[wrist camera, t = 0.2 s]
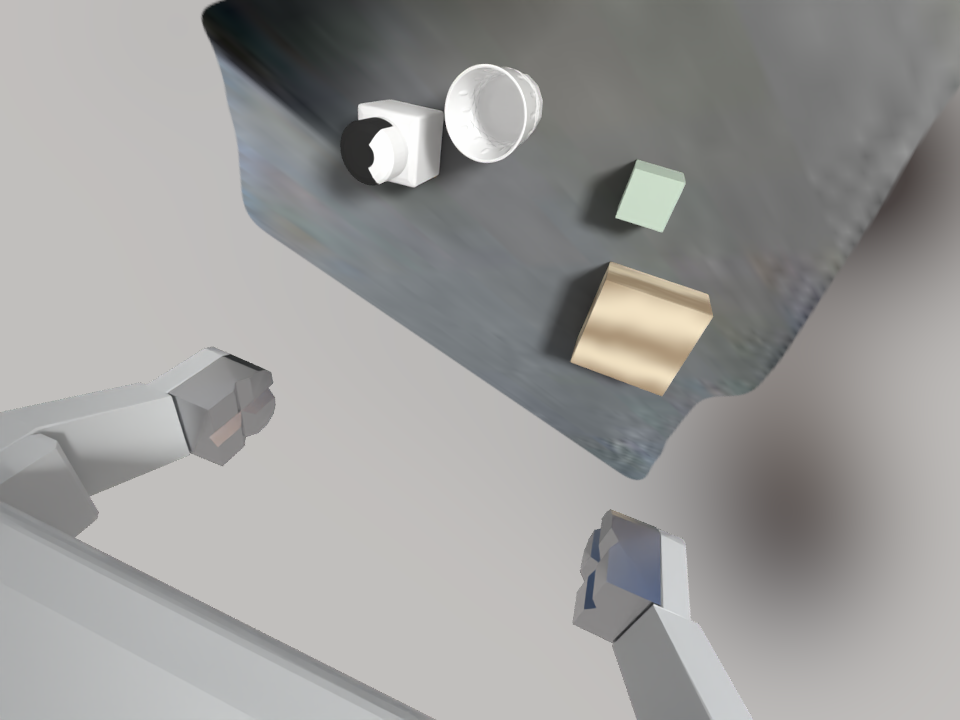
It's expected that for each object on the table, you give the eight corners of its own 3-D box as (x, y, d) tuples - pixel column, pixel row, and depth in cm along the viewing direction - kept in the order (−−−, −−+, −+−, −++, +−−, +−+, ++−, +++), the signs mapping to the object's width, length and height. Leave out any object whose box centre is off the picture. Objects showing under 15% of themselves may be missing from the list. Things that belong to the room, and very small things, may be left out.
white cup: (544, 149, 49) (522, 166, 41) (477, 144, 51) (445, 159, 43) (552, 64, 45) (530, 65, 37) (479, 62, 47) (443, 62, 39)
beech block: (610, 260, 54) (605, 279, 49) (707, 293, 52) (713, 316, 47) (576, 338, 61) (570, 362, 56) (661, 369, 59) (662, 396, 55)
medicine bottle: (387, 162, 56) (333, 183, 46) (389, 98, 52) (329, 107, 42) (439, 175, 55) (394, 199, 45) (445, 111, 50) (396, 122, 41)
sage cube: (636, 159, 47) (635, 168, 43) (683, 172, 46) (685, 183, 42) (618, 205, 50) (615, 217, 46) (661, 218, 49) (662, 232, 45)
